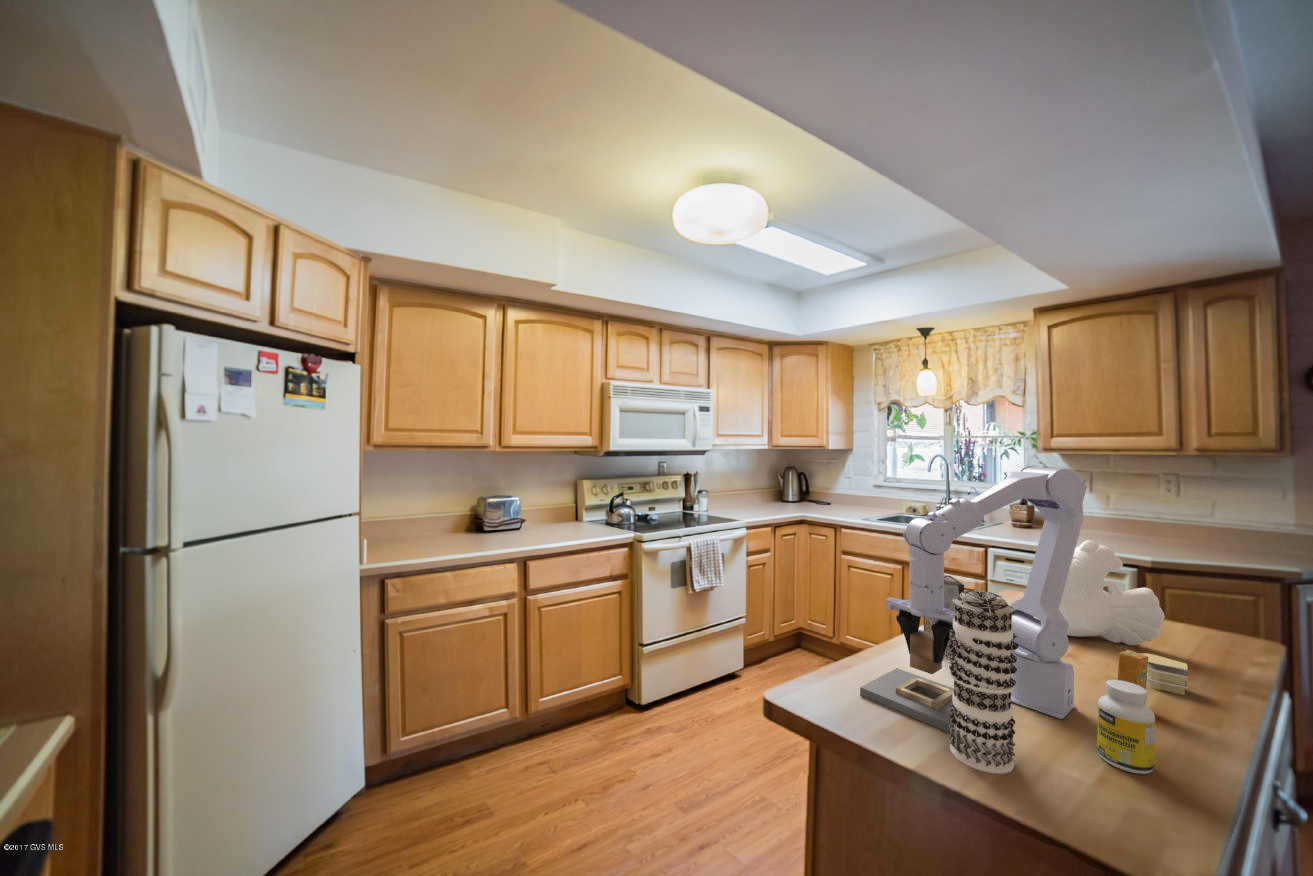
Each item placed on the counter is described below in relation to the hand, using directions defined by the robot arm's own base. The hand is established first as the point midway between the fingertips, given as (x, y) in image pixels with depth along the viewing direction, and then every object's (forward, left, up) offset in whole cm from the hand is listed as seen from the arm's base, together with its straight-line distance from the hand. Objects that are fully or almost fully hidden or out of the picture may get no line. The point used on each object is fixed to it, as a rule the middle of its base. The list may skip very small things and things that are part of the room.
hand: (925, 657), depth 97 cm
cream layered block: (-26, -45, -9) cm, 53 cm away
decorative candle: (-13, +10, -9) cm, 19 cm away
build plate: (0, 0, -8) cm, 8 cm away
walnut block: (0, 0, -2) cm, 2 cm away
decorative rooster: (-10, -66, -9) cm, 67 cm away
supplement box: (-24, -29, -9) cm, 39 cm away
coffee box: (+10, -31, -9) cm, 34 cm away
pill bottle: (-27, -6, -9) cm, 29 cm away
